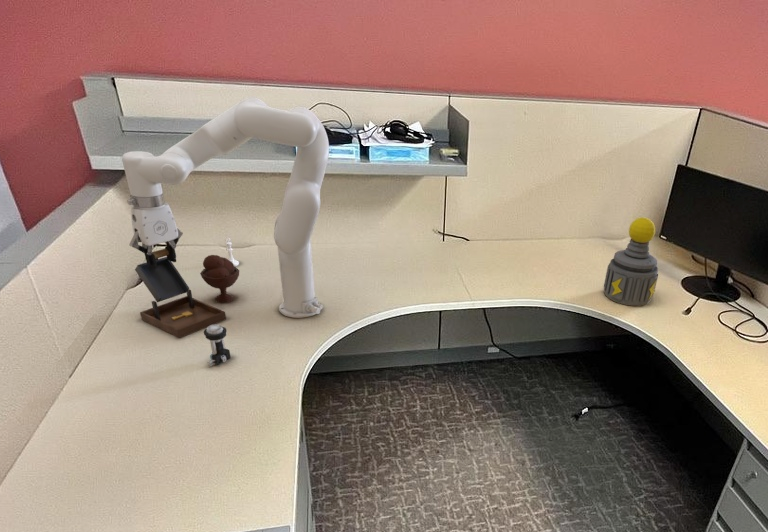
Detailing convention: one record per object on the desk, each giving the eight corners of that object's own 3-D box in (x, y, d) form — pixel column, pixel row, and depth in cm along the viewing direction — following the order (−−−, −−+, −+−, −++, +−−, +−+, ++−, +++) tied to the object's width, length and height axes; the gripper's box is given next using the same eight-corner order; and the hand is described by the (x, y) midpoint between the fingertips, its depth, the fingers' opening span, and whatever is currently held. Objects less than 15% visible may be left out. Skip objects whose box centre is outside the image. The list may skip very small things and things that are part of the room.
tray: (226, 319, 169) (222, 299, 166) (179, 338, 158) (174, 317, 154) (189, 302, 176) (185, 283, 173) (141, 320, 164) (136, 299, 161)
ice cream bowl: (230, 308, 175) (223, 263, 167) (198, 302, 176) (189, 257, 169) (250, 295, 184) (243, 252, 176) (219, 289, 185) (211, 246, 178)
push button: (217, 370, 146) (210, 336, 141) (201, 365, 147) (194, 331, 142) (236, 358, 151) (230, 325, 146) (220, 353, 153) (213, 321, 148)
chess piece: (241, 264, 204) (237, 238, 199) (228, 267, 201) (223, 240, 196) (235, 260, 207) (231, 234, 202) (221, 263, 204) (217, 236, 199)
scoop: (186, 292, 169) (195, 280, 163) (157, 302, 162) (166, 289, 156) (163, 259, 168) (172, 245, 162) (133, 267, 161) (141, 253, 155)
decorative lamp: (592, 293, 211) (607, 215, 195) (619, 282, 223) (635, 207, 208) (635, 311, 200) (655, 230, 185) (661, 298, 213) (681, 221, 197)
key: (192, 313, 169) (192, 314, 169) (187, 311, 169) (188, 312, 170) (175, 319, 164) (175, 320, 164) (170, 317, 165) (170, 318, 165)
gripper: (125, 210, 143) (141, 276, 152) (186, 197, 156) (198, 259, 166) (107, 203, 146) (124, 268, 155) (169, 191, 159) (181, 252, 168)
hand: (162, 263), depth 160 cm, fingers closed on scoop, 5 cm apart
